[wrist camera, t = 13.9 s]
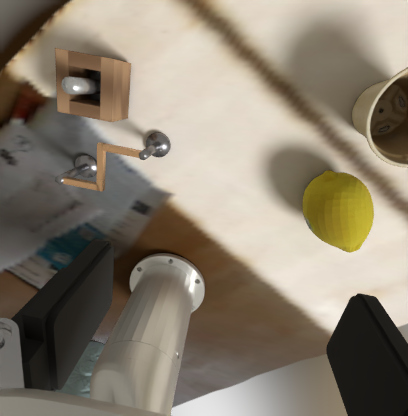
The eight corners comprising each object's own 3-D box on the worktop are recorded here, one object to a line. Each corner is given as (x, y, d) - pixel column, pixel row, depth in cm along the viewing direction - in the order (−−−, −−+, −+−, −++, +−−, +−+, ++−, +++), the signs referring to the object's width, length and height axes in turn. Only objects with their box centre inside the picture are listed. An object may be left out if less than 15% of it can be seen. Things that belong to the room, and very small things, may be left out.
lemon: (292, 167, 37) (306, 187, 29) (355, 154, 35) (386, 171, 28) (302, 237, 41) (316, 270, 33) (359, 228, 39) (387, 260, 32)
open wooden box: (127, 118, 36) (112, 122, 31) (80, 108, 36) (57, 111, 31) (131, 63, 33) (114, 59, 29) (79, 53, 33) (55, 48, 29)
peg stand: (122, 108, 36) (90, 112, 28) (89, 101, 36) (49, 104, 28) (124, 71, 34) (90, 65, 26) (89, 64, 34) (46, 56, 27)
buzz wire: (174, 150, 37) (161, 162, 31) (92, 190, 41) (66, 209, 35) (156, 115, 36) (139, 120, 30) (72, 160, 40) (41, 173, 33)
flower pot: (369, 165, 36) (406, 186, 28) (320, 114, 34) (345, 121, 26) (439, 107, 32) (505, 113, 24) (388, 47, 30) (442, 32, 23)
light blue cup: (104, 333, 53) (69, 397, 42) (131, 368, 56) (105, 436, 45) (63, 346, 56) (21, 408, 45) (92, 378, 59) (59, 445, 48)
